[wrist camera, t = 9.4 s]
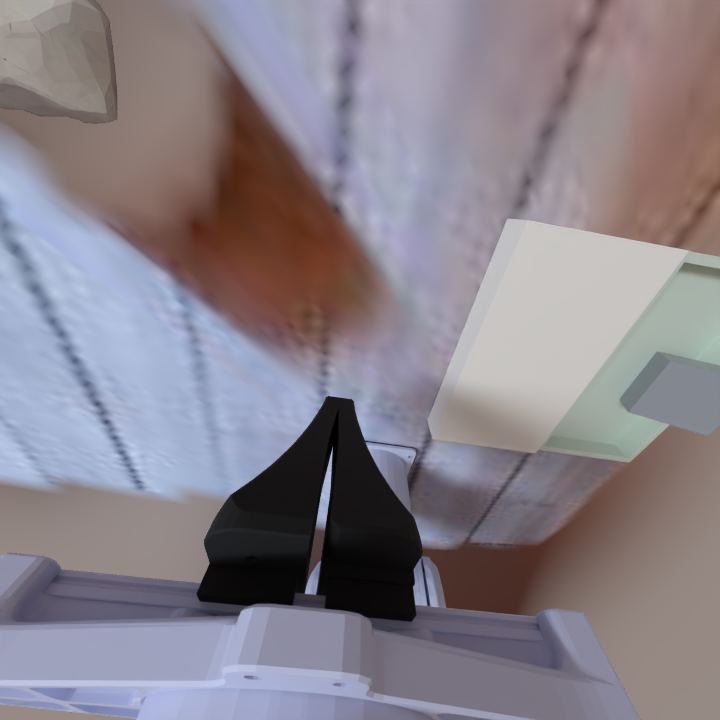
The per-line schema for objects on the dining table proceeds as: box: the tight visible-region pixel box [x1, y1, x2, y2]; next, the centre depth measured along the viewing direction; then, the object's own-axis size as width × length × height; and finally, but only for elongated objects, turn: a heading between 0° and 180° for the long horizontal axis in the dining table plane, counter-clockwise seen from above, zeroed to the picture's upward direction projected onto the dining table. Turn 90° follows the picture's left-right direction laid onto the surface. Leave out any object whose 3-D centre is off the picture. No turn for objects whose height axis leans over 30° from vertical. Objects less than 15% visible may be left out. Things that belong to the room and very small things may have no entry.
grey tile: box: [620, 351, 720, 436], centre depth 20 cm, size 5×5×2 cm
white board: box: [427, 219, 689, 454], centre depth 20 cm, size 18×10×2 cm, turn 171°
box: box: [539, 251, 720, 463], centre depth 21 cm, size 18×10×2 cm, turn 171°
